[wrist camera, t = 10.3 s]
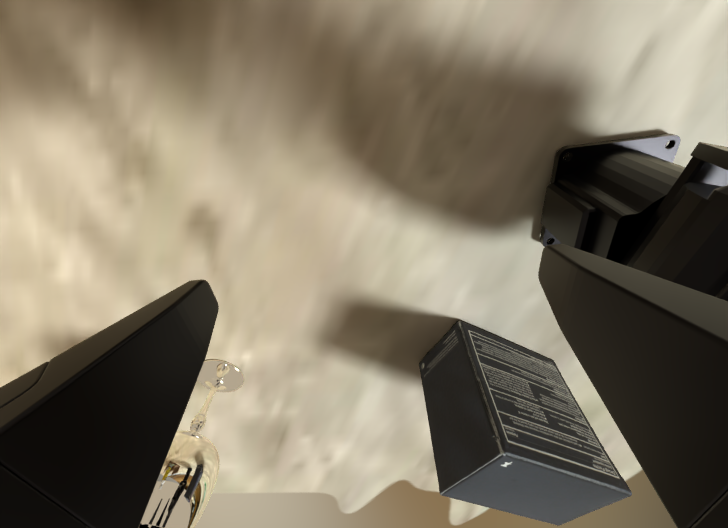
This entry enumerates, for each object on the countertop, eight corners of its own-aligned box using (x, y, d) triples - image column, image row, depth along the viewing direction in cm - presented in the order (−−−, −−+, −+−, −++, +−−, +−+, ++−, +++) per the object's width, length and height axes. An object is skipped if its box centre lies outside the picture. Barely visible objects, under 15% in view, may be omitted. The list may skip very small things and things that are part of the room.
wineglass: (198, 345, 28) (103, 509, 18) (261, 369, 30) (206, 533, 20) (179, 382, 31) (87, 543, 21) (238, 402, 32) (179, 561, 22)
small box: (413, 365, 29) (433, 499, 20) (457, 316, 26) (503, 450, 17) (506, 399, 32) (559, 532, 23) (556, 359, 29) (640, 495, 20)
